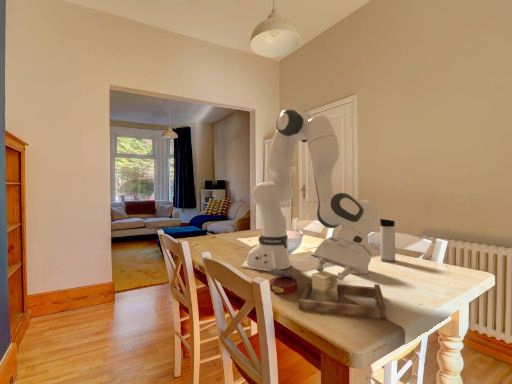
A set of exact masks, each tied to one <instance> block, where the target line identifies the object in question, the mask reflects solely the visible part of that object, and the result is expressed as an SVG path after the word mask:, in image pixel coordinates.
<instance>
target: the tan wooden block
mask: <svg viewBox="0 0 512 384" xmlns="http://www.w3.org/2000/svg"><path fill="white" fill-rule="evenodd" d="M337 275H338V274H334V273H331V272H328V271H326V270H323V271H322V272H319V271H317V272H315V273H312V274H311V282H312V294H313V299H315V300H317V301H325V302H333V301H336V300H337V284H338V278H337V277H336V276H337Z"/></svg>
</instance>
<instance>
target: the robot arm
mask: <svg viewBox="0 0 512 384" xmlns="http://www.w3.org/2000/svg"><path fill="white" fill-rule="evenodd" d="M275 125H276V131H275V132H274V134H273V138H272V140H271V144H270V148H269V153H268V159H267V164H266V167H267V170H268V171H269V181H264V182H260V183H257V184H256V185H254V187H253V188H252V189H251V198H252V201H253V203H254V204H256V206H257V208H258V211H259V213H260V216H261V223H262V226H261V227H262V234H261V235H260V236H259V237H258V238H257V239H258V240H257V241H258V242H259V243H258V244H257V245H254V247H253V248H251V249H250V251H248V253H247V258H246V260H243V261H244V262H242V268H244V269H251V270H258V271H265V272H270V270H271V269H279V270H285V269H288V268H290V267H291V266H292V264H291V261H290V258H289V257H290V256H289V250H288V247H289V239H288V237H289V236H288V234H287V231H288V230H287V218H286V216H285V215H284V214H283V212H282V208H281V205H285V204H287V203H289V202H290V201H291V200H292V199H293V198H294V194H295V193H294V192H295V191H294V188H293V186H292V181H291V180H292V179H291V177H292V176H291V173H292V165H293V161H294V158H295V157H294V156H295V155H294V154H295V152H296V151H295V150H296V146H297V144H298V143H299V142H300V141H301V142H302V143H306V142H307V147H308V151H309V155H310V160H311V164H312V169H313V170H312V171H313V177H314V184H315V190H316V195H317V200H318V201H317V203H318V204H317V205H318V206H317V209H316V210H317V211H316V216H317V219H318V222H319V223H320V224H321V225H322V226H323V227H325V228H328V229H335V228H337V227H339V226H342V227H341V229H340V230H339V232H338V233H337V235H336V237H332V236H331V237H328V238H325V239H323V240H322V242H321V243H320V244H319V245H317V247H316V248H317V249H316V250H315V255H314V256H315V257H316V258H317V259H318V263H317V266H316V268H315V271H317V272H322V271H325V268H324V265H326V263H329V264H332V265H333V266H334V265H335V266H337V267H341V268H343V269H344V270H342V271H341V272H340V271H338V273H337V274H336V275H337V276H336V277H337V280H339V281H344V279H345V278H346V277H348V276H349V275H351V274H352V273H351V272H352V271H355V272H358V273H363V272H364V271H365V270H366V269H367V267H368V268H369V264H370V263H371V261H372V256H373V255H374V254H375V250H374V248H373V247H372V246H371V244H370V243H369V241H368V242H367V241H366V240H367V237H368V236H369V235H370V234H371V233H372V232H373V230H374V228H375V227H376V224H377V223H378V221H379V218H380V209H379V208H378V206H377V205H376V204H375V203H374V202H372V201H370V200H368V199H357V198H356V197H353V196H351V195H350V194H349V193H345V192H338V193H336V194H334V192H335V191H334V188H333V183H332V177H333V172H334V169H335V167H336V164H337V163H338V161H339V158H340V156H341V155H340V153H341V152H340V144H339V141H338V137H337V134H336V132H335V129H334V127H333V124H332V123H331V121H330V119H329V118H328V117H327V116H326V115H322V114H321V115H320V114H319V115H312V114H310V113H308V112H303V111H299V110H298V111H297V110H295V109H284V110H282V111H281V112H280V113H279V114H278V116H277V118H276V124H275Z"/></svg>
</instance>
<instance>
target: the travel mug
mask: <svg viewBox="0 0 512 384" xmlns="http://www.w3.org/2000/svg"><path fill="white" fill-rule="evenodd" d="M379 222H380V223H379V225H380V227H379V229H380V230H379V232H380V234H379V235H380V261H382V262H384V263H395V262H396V231H395V230H396V229H395V228H396V227H395V223H396V222H395V220H391V219H385V218H380V219H379Z"/></svg>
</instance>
